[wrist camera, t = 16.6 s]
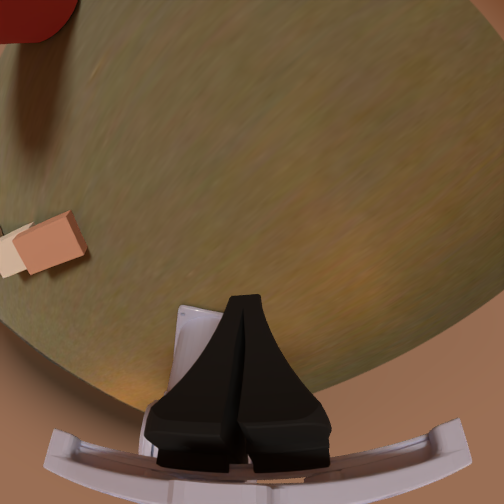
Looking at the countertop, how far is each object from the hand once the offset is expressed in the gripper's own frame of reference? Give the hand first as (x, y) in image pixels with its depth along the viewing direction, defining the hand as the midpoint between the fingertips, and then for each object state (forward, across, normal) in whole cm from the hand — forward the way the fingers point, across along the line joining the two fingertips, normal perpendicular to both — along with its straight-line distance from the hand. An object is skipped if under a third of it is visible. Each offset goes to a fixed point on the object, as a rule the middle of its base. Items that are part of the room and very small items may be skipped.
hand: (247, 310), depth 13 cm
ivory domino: (+10, +21, 0) cm, 23 cm away
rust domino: (+10, +16, 0) cm, 18 cm away
